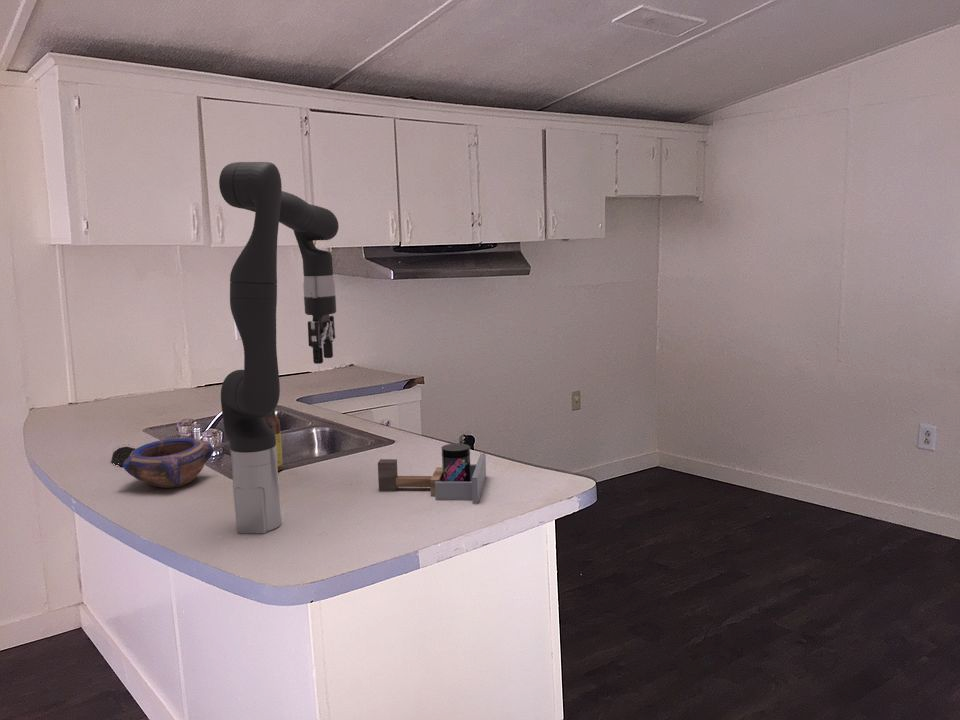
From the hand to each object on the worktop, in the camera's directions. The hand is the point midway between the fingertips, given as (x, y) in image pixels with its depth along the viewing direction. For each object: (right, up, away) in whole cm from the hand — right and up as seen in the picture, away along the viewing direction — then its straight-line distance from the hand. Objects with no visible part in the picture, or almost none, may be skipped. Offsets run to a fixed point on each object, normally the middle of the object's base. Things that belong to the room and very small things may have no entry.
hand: (323, 360), depth 198 cm
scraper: (+22, -31, -5) cm, 38 cm away
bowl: (-39, -31, +5) cm, 50 cm away
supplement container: (+33, -31, -7) cm, 46 cm away
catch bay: (+34, -31, -7) cm, 46 cm away
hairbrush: (-56, -29, +22) cm, 67 cm away
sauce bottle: (-16, -29, +13) cm, 36 cm away
